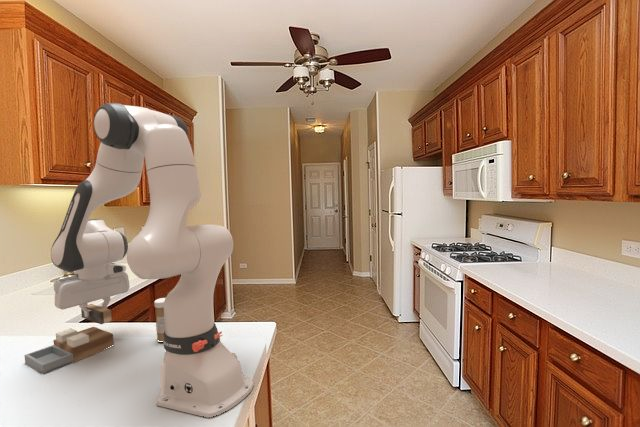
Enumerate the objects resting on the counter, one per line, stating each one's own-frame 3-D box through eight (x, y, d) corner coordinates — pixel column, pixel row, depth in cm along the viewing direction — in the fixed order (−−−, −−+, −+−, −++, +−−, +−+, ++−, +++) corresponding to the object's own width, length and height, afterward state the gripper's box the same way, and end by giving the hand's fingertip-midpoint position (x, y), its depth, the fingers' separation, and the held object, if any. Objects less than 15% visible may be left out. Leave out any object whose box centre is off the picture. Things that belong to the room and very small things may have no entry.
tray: (73, 362, 94) (72, 353, 94) (43, 374, 88) (42, 365, 88) (54, 352, 100) (53, 344, 100) (25, 363, 94) (24, 355, 94)
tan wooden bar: (111, 320, 103) (110, 309, 103) (101, 324, 101) (100, 313, 100) (92, 314, 109) (91, 303, 109) (81, 317, 107) (80, 306, 107)
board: (113, 346, 104) (112, 333, 103) (73, 362, 94) (72, 348, 94) (94, 338, 110) (93, 326, 110) (54, 352, 100) (53, 340, 100)
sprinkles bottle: (160, 337, 109) (157, 297, 108) (174, 336, 109) (172, 296, 108) (154, 344, 104) (151, 302, 103) (169, 343, 105) (167, 301, 104)
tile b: (77, 337, 102) (77, 330, 101) (62, 342, 98) (61, 335, 98) (71, 334, 104) (70, 328, 104) (56, 339, 100) (55, 333, 100)
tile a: (89, 341, 98) (88, 335, 98) (73, 347, 95) (73, 340, 94) (82, 339, 100) (81, 332, 100) (67, 344, 97) (66, 337, 97)
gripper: (58, 280, 93) (62, 327, 94) (130, 265, 111) (133, 305, 112) (48, 277, 97) (52, 323, 98) (120, 263, 114) (123, 302, 115)
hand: (96, 313), depth 105 cm, fingers closed on tan wooden bar, 3 cm apart
